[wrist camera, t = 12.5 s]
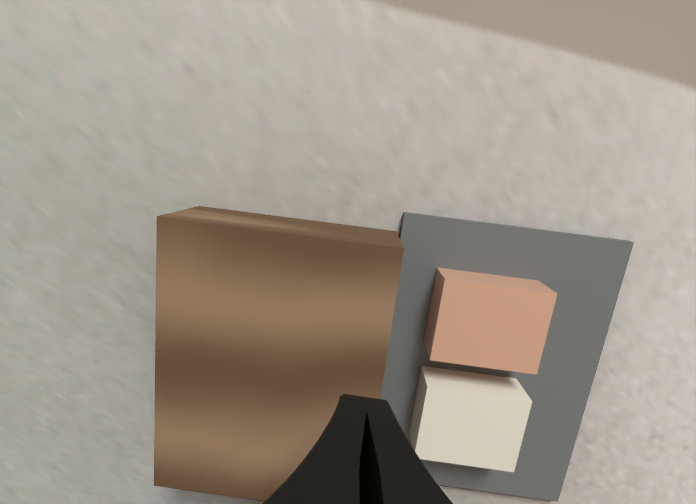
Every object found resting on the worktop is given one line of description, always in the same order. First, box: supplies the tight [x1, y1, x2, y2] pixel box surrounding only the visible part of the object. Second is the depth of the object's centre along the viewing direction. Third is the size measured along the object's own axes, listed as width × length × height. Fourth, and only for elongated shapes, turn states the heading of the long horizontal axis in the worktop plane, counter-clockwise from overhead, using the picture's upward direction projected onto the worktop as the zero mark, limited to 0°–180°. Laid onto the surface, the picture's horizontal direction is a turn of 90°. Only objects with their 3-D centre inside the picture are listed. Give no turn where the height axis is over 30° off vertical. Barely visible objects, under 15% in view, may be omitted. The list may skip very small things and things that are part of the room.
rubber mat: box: [380, 212, 634, 501], centre depth 20 cm, size 15×11×1 cm
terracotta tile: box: [424, 267, 557, 375], centre depth 18 cm, size 4×5×2 cm
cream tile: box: [410, 366, 532, 472], centre depth 20 cm, size 4×5×2 cm
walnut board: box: [154, 206, 404, 501], centre depth 19 cm, size 13×10×4 cm
